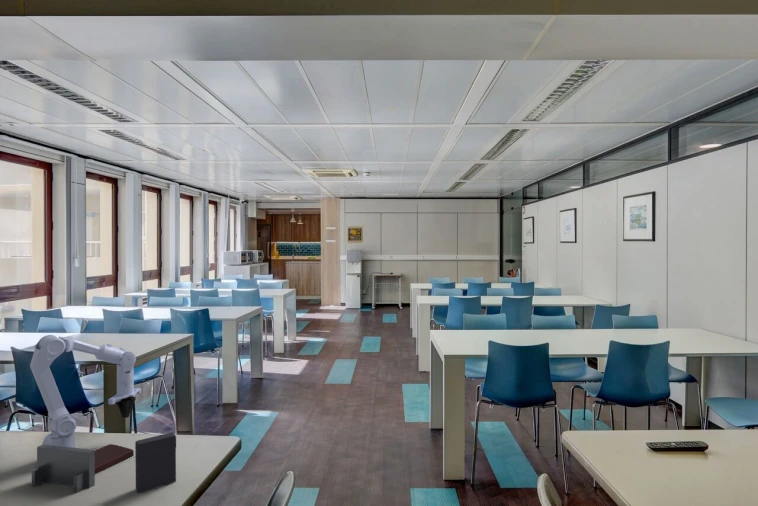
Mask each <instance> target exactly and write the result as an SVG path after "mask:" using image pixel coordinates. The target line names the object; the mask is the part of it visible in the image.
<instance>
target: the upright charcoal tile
mask: <svg viewBox="0 0 758 506" xmlns="http://www.w3.org/2000/svg"><path fill="white" fill-rule="evenodd" d="M134 442H135V443H134V444H135V445H134V446H135V447H134V448H135V451H134V452H135V454H134V455H135V458H134V459H135V491H136V492H137V494H140V492H141V493H144V492H147V491H150V490H153V489H156V488H161V487H164V486H166V484H167V485H170V484H174V483H175V482H176V481H177V463H176V462H177V459H176V457H177V454H176V452H177V451H176V449H177V435H176V434H175V433H174V432H168V433H163V434H159V435H155V436H151V437H146V438H143V439H138V440H136V441H134ZM173 482H174V483H173ZM169 483H170V484H169ZM163 485H164V486H163Z"/></svg>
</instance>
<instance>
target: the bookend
mask: <svg viewBox="0 0 758 506" xmlns="http://www.w3.org/2000/svg"><path fill="white" fill-rule="evenodd" d="M95 450H96V449H91V448H90V449H89V448H80V447H79V448H78V447H75V448H72V447H62V446H53V445H42V444H41V445H39V446H37V447H36V468H34V469H33V470H31V487H32V488H36V487H38V486H40V485H41V484H43V483H45V484H46V483H47V484H54V485H62V486H68V487H69V486H70V487H73V493H78V492H81V491H82V490H84V489H91V488H92V487H93V486H95V483H96V480H95V479H96V477H95V476H96V474H95Z"/></svg>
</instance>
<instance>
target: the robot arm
mask: <svg viewBox="0 0 758 506" xmlns="http://www.w3.org/2000/svg"><path fill="white" fill-rule="evenodd" d="M72 351H77V352H81V353H84V354H89V355H94V356H95V358H96V360H98V361H101V362H102V361H103V362H106V363H109V364H113V365H115V364H116V394H115V395H113V396H112V397H110V398H108V400H107V403H108V404H107V405H115V404H116V407H118V409H119V411H120V414H121V418H123V419H124V418H125V419H127V418H130V414H131V410H132V407H133V405H134V403H135V401H136V395H137V394H141V393H142V387H135V383H134V382H135V378H134V375H135V374H134V373H135V372H134V370H135V369H134V365H135V363H136V361H137V358H136V355H135V354H134V352H131V351H129V350H126V349H125V348H122V347H120V348H118V347H114V346H113V345H112V344H109V343H107V344H102V345H98V346H97V345H95V344H94V345H93V344H90V343H88V342H84V341H81V340H77V339H74V338H71V337H65V336H58V337H57V336H56V335H53V334H47V335H45V336H42V337H41V338H40V339H39V340H38V341H37V342H36V344H35V345H34V351H33V354H32V358H31V361H30V365H29V366H30V370H31V372H32V374H33V377H34V380H35V382H36V384H37V387H38V390H39V391H40V394H41V397H42V399H43V402H44V405H45V407H46V410H47V412H48V413H47V415H48V418H49V419H48V427H49V428H50V429H51V430H52V431H51V432H50V433H49V434H47V435H46V436H45V437H44V439H43V441H42V444H41V445H53V446H62V447H72V448H76V437H75V436H76V435H75V434H76V429H77V422H76V420H75V419H74V418H72V417H71V415H70V412H69V411H68V409H67V408H66V406H65V403H64V401H63V399H62V396H61V393H60V392H59V391H60V390H59V388H58V386H57V384H56V380H55V378H54V375H53V373H52V370H51V369H50V366H52V364H53V362H54V361H55V360H56V359H57V358H58V357H59V356H61V355H62V354H63V353H64V352H65V353H68V352H72Z"/></svg>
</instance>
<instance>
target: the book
mask: <svg viewBox="0 0 758 506" xmlns="http://www.w3.org/2000/svg"><path fill="white" fill-rule="evenodd" d="M94 450H95V475H97V474H99V473H101V472H104V471H105V470H108V469H109V468H111V467H114V466H115V465H118V464H120V463H122V462H125V461H127V460H128V458H129V459H130V457H131V458H133V457H134V455H135V454H134V452H135V451H134V449H132V448H128V447H125V446H121V445H117V444H112V443H110V444H107V445H105V446H102V447H99V448H98V449H94ZM132 456H133V457H132ZM126 459H127V460H126Z"/></svg>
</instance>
